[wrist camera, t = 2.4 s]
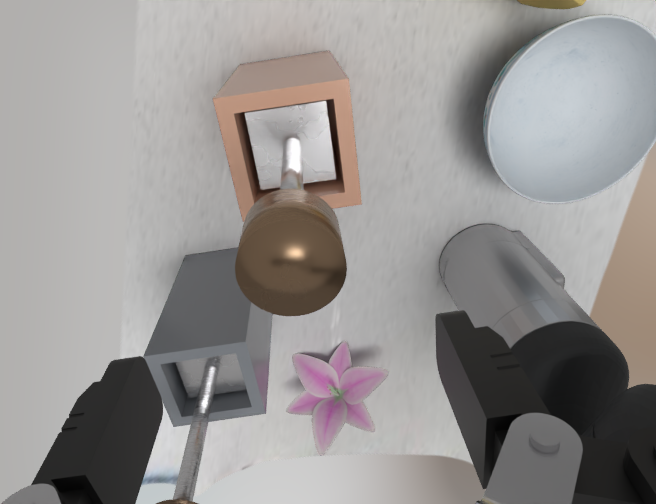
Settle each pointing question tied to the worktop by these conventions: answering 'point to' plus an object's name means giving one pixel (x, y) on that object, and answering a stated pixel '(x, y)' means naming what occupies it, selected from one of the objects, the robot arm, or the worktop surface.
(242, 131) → the press terracotta
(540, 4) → the cheese
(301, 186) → the bronze knob plunger
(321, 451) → the lily
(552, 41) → the chinaware
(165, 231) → the worktop surface
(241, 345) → the grey square holder
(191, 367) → the tall bronze-capped rod
